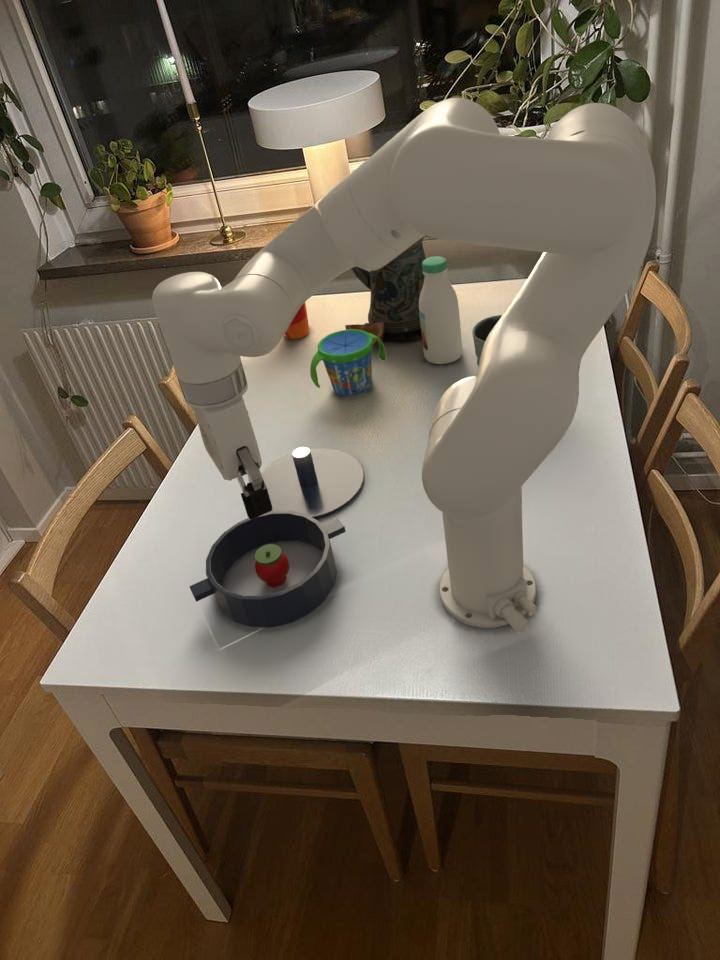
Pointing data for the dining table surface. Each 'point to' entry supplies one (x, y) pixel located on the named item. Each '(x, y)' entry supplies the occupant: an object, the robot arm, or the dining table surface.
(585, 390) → the dining table surface
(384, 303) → the beer stein
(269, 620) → the pot
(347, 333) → the snack cup
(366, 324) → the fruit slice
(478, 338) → the grey-green cup
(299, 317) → the paper cup
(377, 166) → the robot arm
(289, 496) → the lid
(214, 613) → the dining table surface
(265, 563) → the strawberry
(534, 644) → the dining table surface
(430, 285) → the milk bottle
